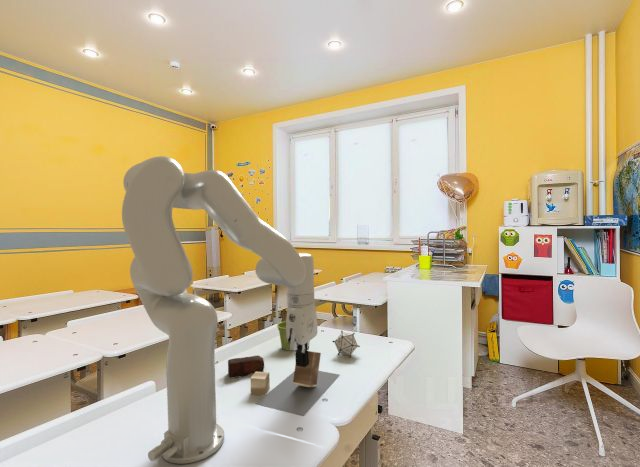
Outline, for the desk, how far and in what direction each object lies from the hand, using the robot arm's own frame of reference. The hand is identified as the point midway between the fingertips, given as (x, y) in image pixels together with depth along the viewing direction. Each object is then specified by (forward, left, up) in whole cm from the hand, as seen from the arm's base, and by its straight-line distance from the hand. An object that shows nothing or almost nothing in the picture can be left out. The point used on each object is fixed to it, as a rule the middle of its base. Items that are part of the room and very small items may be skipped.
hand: (302, 365), depth 94 cm
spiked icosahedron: (+29, -2, -8) cm, 30 cm away
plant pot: (+28, +20, -8) cm, 35 cm away
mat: (+1, +1, -8) cm, 8 cm away
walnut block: (+1, 0, -6) cm, 6 cm away
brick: (+4, +22, -8) cm, 24 cm away
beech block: (-5, +11, -8) cm, 14 cm away
